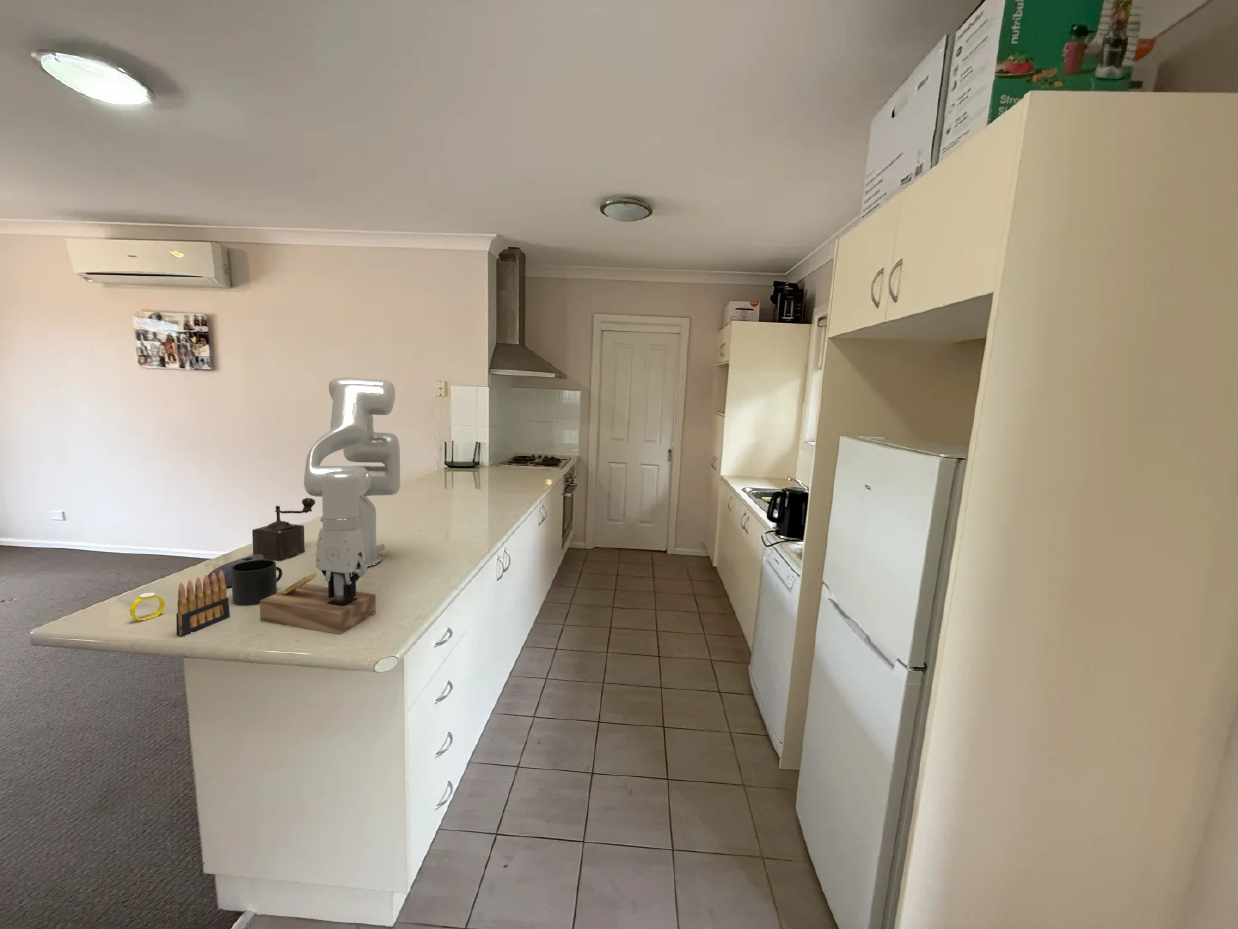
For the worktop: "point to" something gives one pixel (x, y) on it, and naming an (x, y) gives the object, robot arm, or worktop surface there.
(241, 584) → the mug
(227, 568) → the perforated stone tool
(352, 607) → the walnut block
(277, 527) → the manual coffee grinder
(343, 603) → the steel pin
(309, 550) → the worktop surface
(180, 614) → the ammunition clip
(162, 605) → the yellow ring
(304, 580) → the bar
